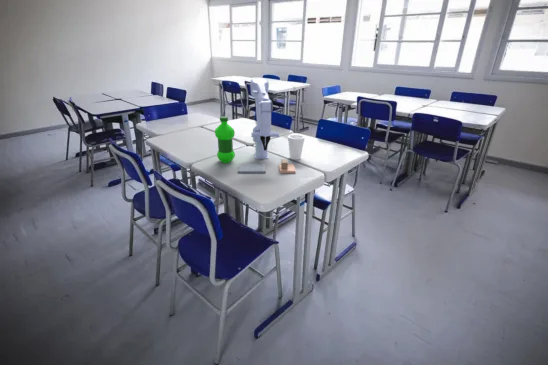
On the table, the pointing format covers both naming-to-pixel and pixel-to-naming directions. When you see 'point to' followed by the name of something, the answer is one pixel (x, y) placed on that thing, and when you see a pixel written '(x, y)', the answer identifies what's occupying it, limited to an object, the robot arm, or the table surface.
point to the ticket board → (251, 168)
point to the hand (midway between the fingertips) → (265, 149)
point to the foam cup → (295, 146)
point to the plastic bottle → (225, 141)
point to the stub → (286, 167)
